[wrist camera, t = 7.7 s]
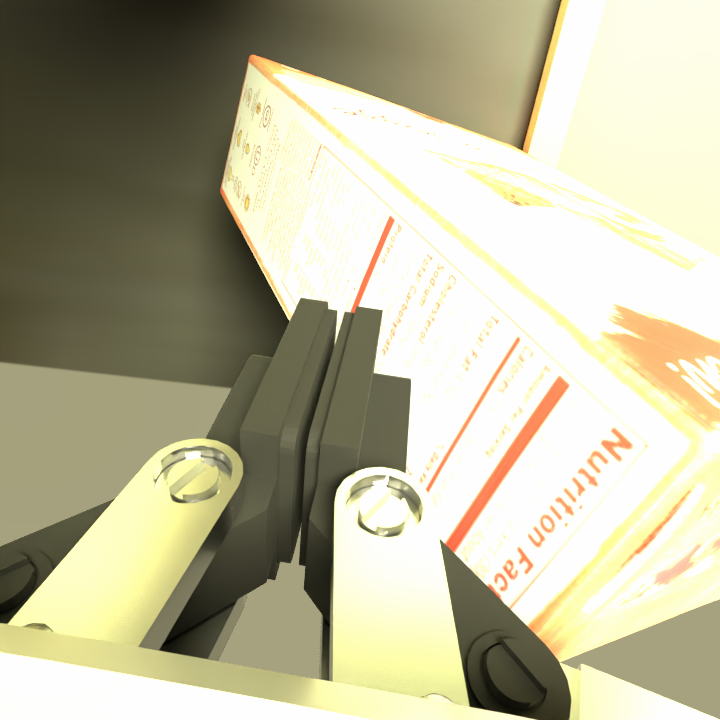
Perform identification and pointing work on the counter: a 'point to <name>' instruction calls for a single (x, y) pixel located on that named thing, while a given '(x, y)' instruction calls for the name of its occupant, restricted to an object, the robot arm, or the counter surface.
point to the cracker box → (506, 346)
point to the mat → (637, 109)
